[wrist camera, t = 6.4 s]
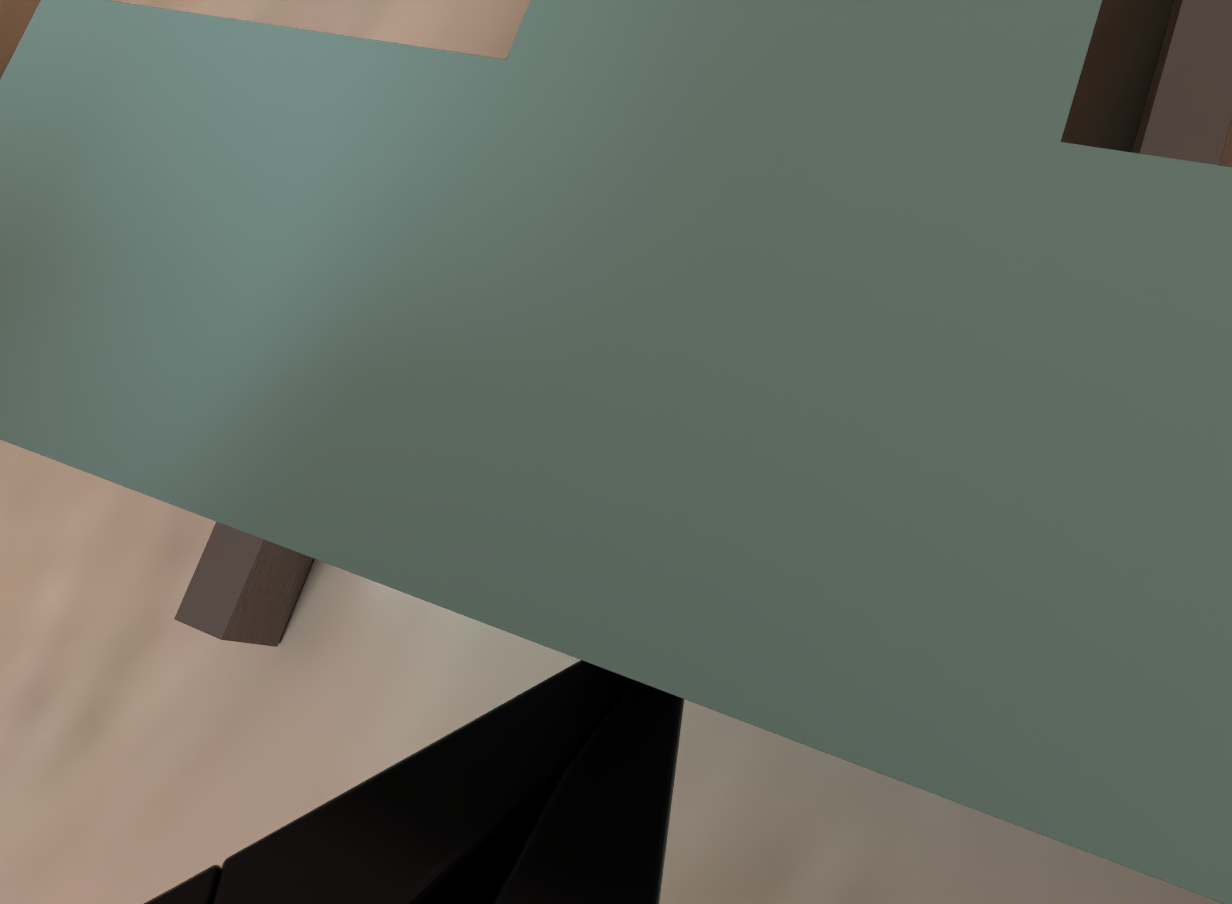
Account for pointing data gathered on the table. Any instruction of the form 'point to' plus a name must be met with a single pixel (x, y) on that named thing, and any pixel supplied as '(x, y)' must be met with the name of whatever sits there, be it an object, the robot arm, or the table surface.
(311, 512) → the t block
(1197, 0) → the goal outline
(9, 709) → the table surface
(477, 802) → the robot arm
